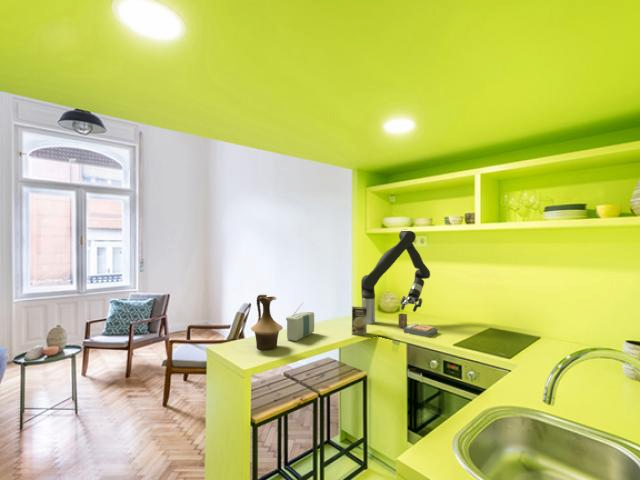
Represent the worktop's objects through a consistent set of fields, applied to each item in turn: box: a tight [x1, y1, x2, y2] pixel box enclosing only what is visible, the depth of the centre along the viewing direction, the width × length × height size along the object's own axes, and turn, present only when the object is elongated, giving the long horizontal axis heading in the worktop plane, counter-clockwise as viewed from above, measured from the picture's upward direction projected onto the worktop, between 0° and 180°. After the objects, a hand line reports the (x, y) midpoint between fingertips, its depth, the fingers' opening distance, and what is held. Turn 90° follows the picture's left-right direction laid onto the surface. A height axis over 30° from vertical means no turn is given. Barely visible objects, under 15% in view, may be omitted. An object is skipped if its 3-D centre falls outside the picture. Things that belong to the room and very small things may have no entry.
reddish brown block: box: [398, 312, 408, 330], centre depth 211 cm, size 4×4×9 cm
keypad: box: [403, 322, 438, 338], centre depth 199 cm, size 16×13×4 cm
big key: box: [413, 324, 435, 332], centre depth 198 cm, size 9×11×2 cm
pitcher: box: [250, 294, 284, 351], centre depth 171 cm, size 18×17×28 cm
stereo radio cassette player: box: [285, 303, 315, 342], centre depth 191 cm, size 21×8×20 cm, turn 152°
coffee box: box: [351, 306, 368, 336], centre depth 197 cm, size 9×6×16 cm
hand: (407, 310), depth 217 cm, fingers open, 8 cm apart
